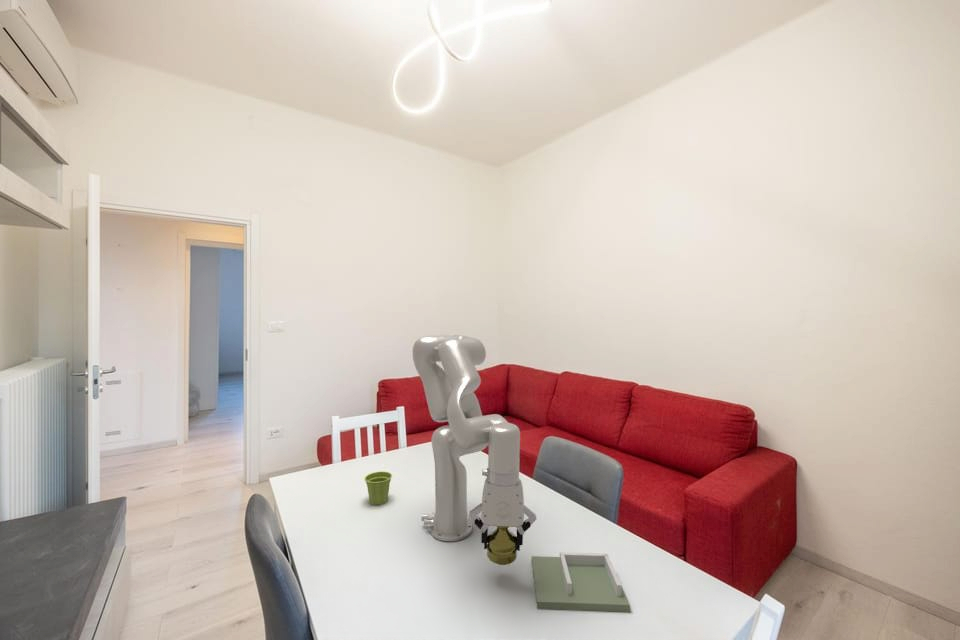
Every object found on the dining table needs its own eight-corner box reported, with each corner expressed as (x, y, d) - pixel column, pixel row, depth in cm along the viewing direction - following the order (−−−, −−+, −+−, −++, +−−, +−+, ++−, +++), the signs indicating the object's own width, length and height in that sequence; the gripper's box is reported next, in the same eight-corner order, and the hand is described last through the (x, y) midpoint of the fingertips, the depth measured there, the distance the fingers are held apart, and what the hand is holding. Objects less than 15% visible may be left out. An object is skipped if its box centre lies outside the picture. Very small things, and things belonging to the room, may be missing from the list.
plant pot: (358, 505, 131) (358, 479, 131) (376, 493, 140) (375, 469, 140) (381, 510, 128) (381, 484, 127) (397, 497, 136) (397, 473, 136)
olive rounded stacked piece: (508, 570, 88) (509, 528, 88) (480, 558, 92) (481, 518, 92) (522, 552, 94) (523, 513, 94) (495, 542, 98) (496, 504, 98)
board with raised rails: (537, 608, 84) (537, 590, 84) (531, 562, 100) (531, 546, 100) (630, 611, 83) (629, 593, 83) (609, 564, 99) (609, 548, 99)
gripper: (466, 480, 89) (464, 554, 90) (541, 484, 88) (539, 558, 89) (469, 467, 97) (467, 535, 97) (538, 470, 96) (536, 538, 96)
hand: (501, 545), depth 93 cm, fingers closed on olive rounded stacked piece, 7 cm apart
